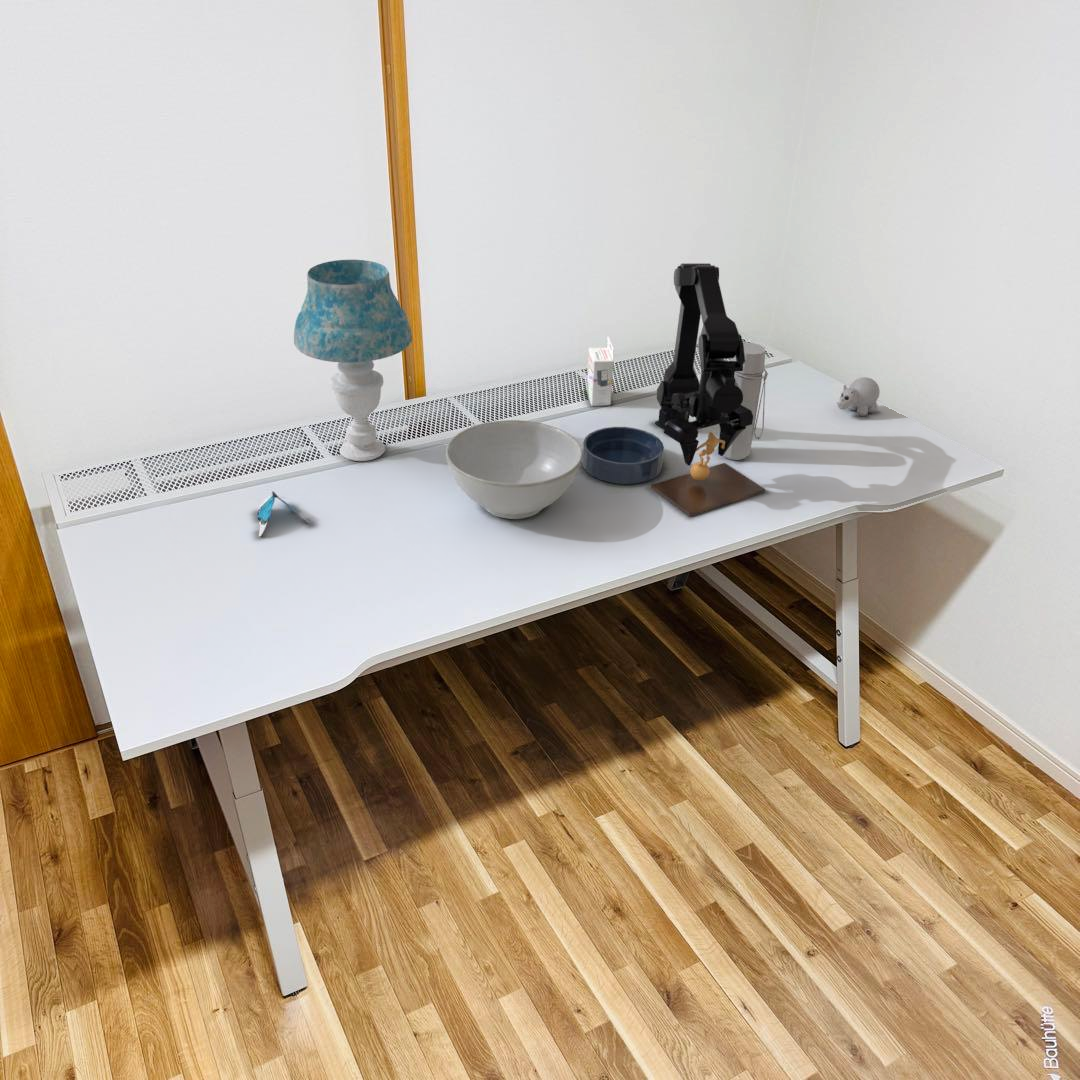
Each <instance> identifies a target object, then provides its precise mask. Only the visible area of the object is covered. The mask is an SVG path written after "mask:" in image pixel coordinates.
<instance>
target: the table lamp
mask: <svg viewBox="0 0 1080 1080" xmlns="http://www.w3.org/2000/svg"><path fill="white" fill-rule="evenodd" d="M306 279H307V291H306V294H305V298H304V300H303V303H302V305H301V309H300V312H299V313H298V314H297V316H296V319H295V323H294V331H293V344H294V346H295V348H296V349H297V350H298V351H299V352H300V353H302V354H303V355H305V356H306V357H309V358H311V359H312V358H313V359H315V360H319V361H324V362H331V363H337V369H338V372H336V373H334V374H332V376H331V379H330V388H331V389H332V390H333V391H334V395H335V396H334V397H335V400H336V402H337V405H338V407H339V408H340V409H341V411H343V412H344V413H345V414H347V415H349V416H351V417H352V421H351V422H350V425H348V427H346V430H345V431H346V432H345V434H346V441H345V442H344V443H343V444H342V445H341V446H340V447H339V454H340V455H341V456H342V457H343V458H345V459H347V460H348V461H353V462H368V461H372V460H375V459H377V458H380V457H381V456H382V455H383V454H384V453H385V451H386V445H385V444H384V443H383V442H382V441H381V440H379V439H377V430H376V429H377V428H376V427H375V425H373V424H371V422H370V420H369V419H368V416H369V415H370V414H372V413H373V412H374V411H375V410H376V409H377V407H378V406H379V404H380V400H381V392H382V387H383V386H384V377H383V375H382V374H381V373H380V372H379V371H377V370H373V369H374V366H375V364H374V363H375V362H374V361H379V360H382V359H387V358H389V357H392V356H393V357H394V356H396V355H397V354H400V353H401V352H403V351H404V350H405V349H407V348H408V347H409V346H410V345H411V343H412V340H413V333H412V329H411V325H410V322H409V319H408V316H407V314H406V312H405V310H404V309H403V308H402V307H401V305H400V301H399V300H398V298H397V297H396V295H395V293H394V291H393V289H392V285H391V279H390V271H389V269H388V268H387V267H386V266H385V265H383V264H381V263H379V262H376V261H372V260H364V259H338V260H331V261H325V262H322V263H319V264H316V265H313V266H312V267H310V269H308V271H307V274H306Z"/></svg>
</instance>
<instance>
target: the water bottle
mask: <svg viewBox="0 0 1080 1080" xmlns="http://www.w3.org/2000/svg"><path fill="white" fill-rule="evenodd" d="M743 345H744V355H745V363H744V364H743V371H735V374H734V378H735V381H736V382H737V384H738V386H739V387H740V389H741V391H742V393H743V401H742V403H741V405H742V406H744V407H746V408H748V409H749V410H751V411H752V413H753V422H752V425H748V426H746V429H745V430H743V431H742V432H741V433H740V434H739V435H738V437H737V438H736V439H735V440H734V441H733V443H732V444H731V445H730V447H729V448H728V449H727V451H726V452H725V453H724V455H723V456H722V457H723V458H725V459H728V460H733V461H740V460H745V459H746V458H747V457H748V456H749V455H751V449H752V443H753V436H754V438H755V439H756V440H760V439H761V438H762V435H763V432H764V428H765V404H766V381H767V377H768V375H769V373H768V371H767V370H766V368H765V362H766V348H765V347H764V346H762V345H761V344H758V343H756V342H755V343H754V342H746V341H745V342H744V341H743ZM730 361H736V356H735V357H734V358H733V359H730ZM763 374H764V375H763ZM762 381H763V384H762ZM761 387H762V389H761ZM760 394H761V395H760ZM762 399H763V408H762V423H761V424H762V427H761V433H760V436H757V434H756V430H757V425H758V419H759V414H760V409H761V403H762Z"/></svg>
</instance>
